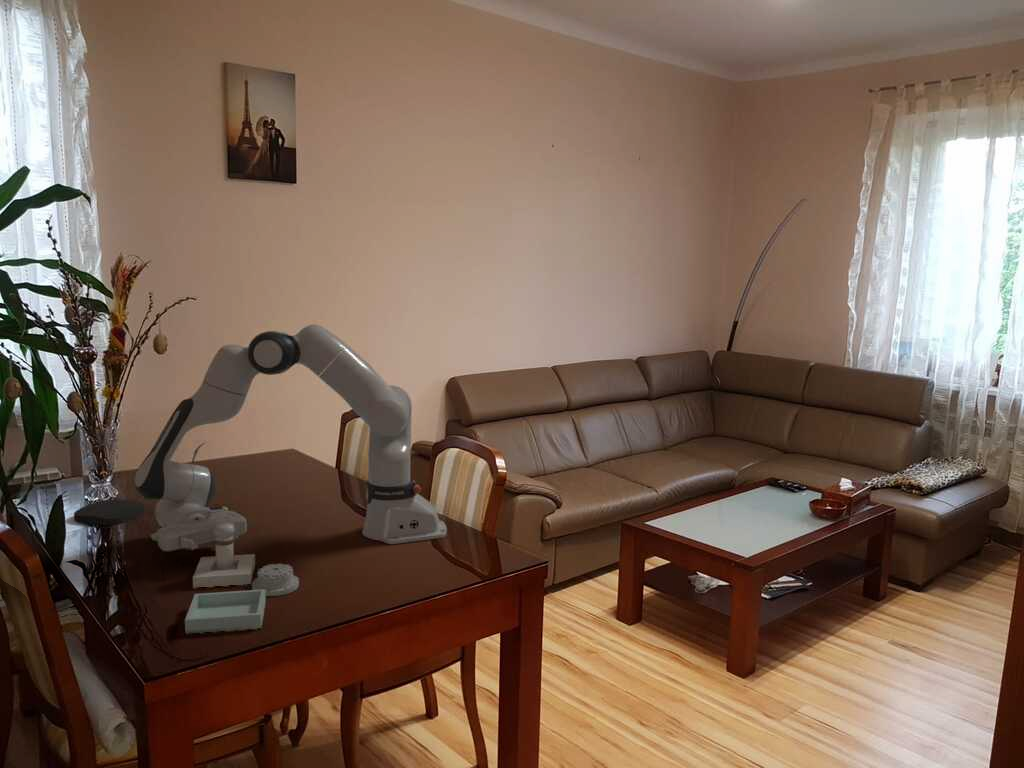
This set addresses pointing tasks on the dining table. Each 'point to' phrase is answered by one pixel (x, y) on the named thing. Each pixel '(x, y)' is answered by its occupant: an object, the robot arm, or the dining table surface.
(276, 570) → the mechanical component
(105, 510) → the media streaming box
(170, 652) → the dining table surface
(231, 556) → the grey peg
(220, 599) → the parts tray
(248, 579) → the grey square frame
